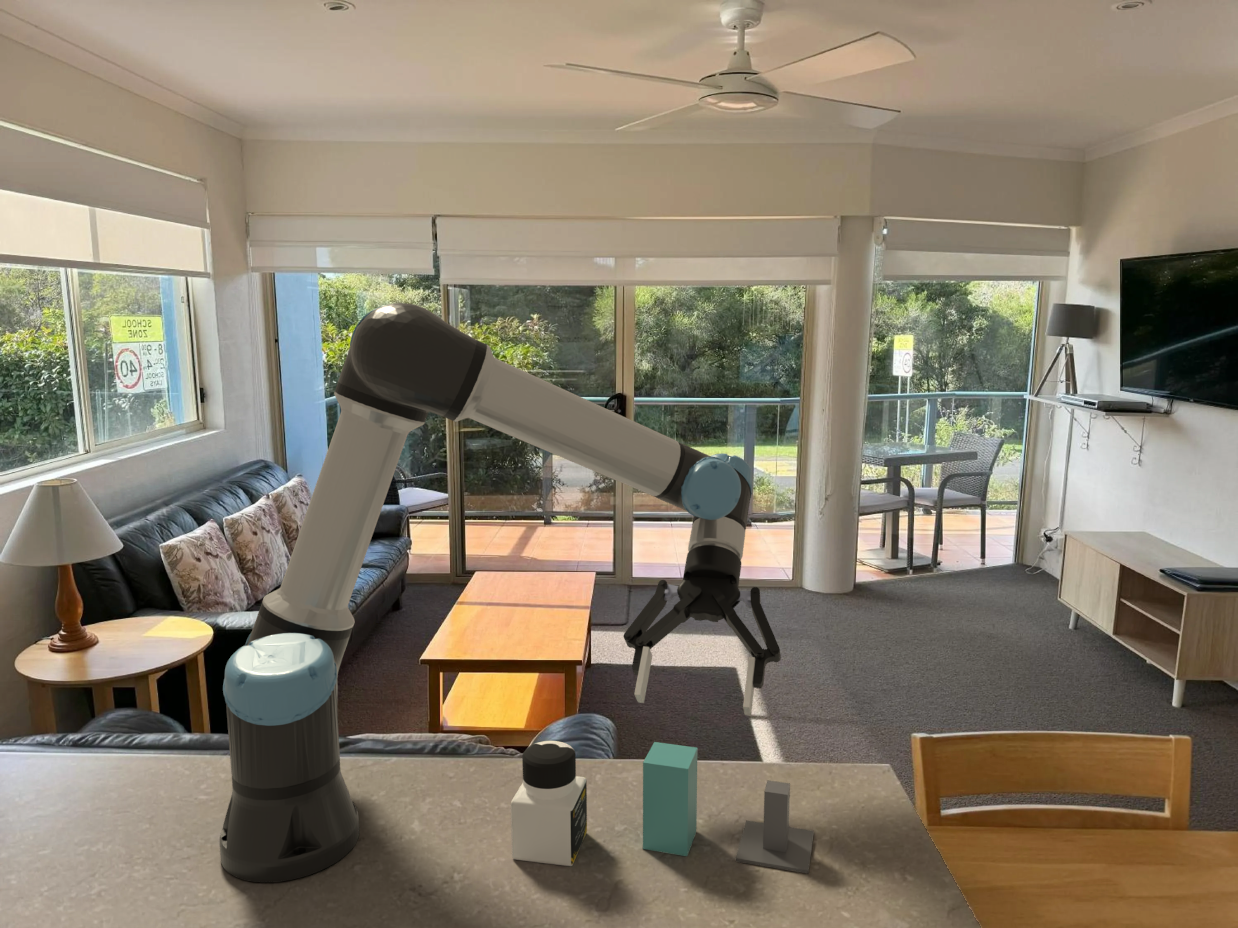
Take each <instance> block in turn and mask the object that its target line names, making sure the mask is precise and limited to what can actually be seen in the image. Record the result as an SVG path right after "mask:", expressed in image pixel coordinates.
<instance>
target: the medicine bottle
mask: <svg viewBox="0 0 1238 928" xmlns="http://www.w3.org/2000/svg"><path fill="white" fill-rule="evenodd" d="M576 764H577V763H576V751H575V749H574V748H573V747H572V746H571V745H570V744H567V743H566V742H562V741H558V740H557V741H556V740H543V741H540V742H535V743H533V744H531V745H530V746H528V747H526V749H525V750H524V751H523V753H522V783H521V785H520V786H519V787H518V789H517V791H516V793H515V794H514V796H513V798H512V799H511V802H510V822H511V823H510V828H511V829H510V831H511V833H510V834H511V858H512V859H513V860H515V861H516V860H517V861H524V862H530V863H538V864H539V863H540V864H549V865H555V866H556V865H557V866H563V867H564V866H565V867H572V866H573V865H574V864H575V860H576V858H577V855H578V854H579V851H580V849H581V846H582V844H583V842H584V840H585V838H586V835H587V833H588V815H587V814H588V812H587V810H588V807H587V805H588V800H587V796H588V795H587V794H588V793H587V792H588V791H587V789H588V788H587V786H588V785H587V778H586V777H584V776H577V767H576V766H577V765H576Z"/></svg>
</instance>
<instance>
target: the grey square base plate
mask: <svg viewBox="0 0 1238 928" xmlns="http://www.w3.org/2000/svg"><path fill="white" fill-rule="evenodd" d="M790 793H791V783H789V782H784V781H783V782H782V781H775V780H768V779H767V780H766V784H765V788H764V794H763V795H764V797H763V822H762V821H761V822H760V821H754V820H749V819H748V820H747V819H745V823H744V827H743V831H742V833H741V837H740V841H739V845H738V847H737V852H736V855H735V862H737V863H743V864H748V865H755V866H761V867H766V868H767V867H768V868H771V869H772V868H774V869H779V870H786V871H791V872H797V873H800V874H801V873H802V874H809V871H810V866H811V864H810V863H811V859H812V857H811V856H812V851H813V850H812V849H813V842H814V835H815V834H814V833H815V832H814V830H812V829H807V828H805V829H804V828H800V827H799V828H798V827H793V826H790V798H791V795H790Z"/></svg>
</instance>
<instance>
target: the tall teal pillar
mask: <svg viewBox="0 0 1238 928" xmlns="http://www.w3.org/2000/svg"><path fill="white" fill-rule="evenodd" d="M697 807H698V747H696V746H695V747H694V746H686V745H681V744H679V745H678V744H673V743H664V742H657V741H653V744H652V745H651V747H650V748H649V751H648V752H647V755H646V757H645V758H644V760H643V762H642V849H643V850H647V851H653V852H659V853H660V852H661V853H664V854H672V855H677V856H684V857H688V856H689V853H690V850H691V848H692V844H693V842H694V839H695V837H696V833H697V825H698V823H697V817H698V815H697V813H698V812H697V811H698V810H697V809H698V808H697Z"/></svg>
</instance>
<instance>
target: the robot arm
mask: <svg viewBox="0 0 1238 928" xmlns="http://www.w3.org/2000/svg"><path fill="white" fill-rule="evenodd" d="M333 395H334V396H335V399H336V401H337V403H338V405H339V407H340V413H339V416H338V420H337V423H336V424H335V425H336V426H335V429H334V432H333V434H332V438H331V440H330V443H329V446H328V449H327V452H326V455H325V458H324V460H323V463H322V466H321V469H320V471H319V475H318V477H317V481H316V483H315V487H314V489H313V492H312V495H311V497H310V498H311V499H310V501H309V504H308V506H307V509H306V512H305V515H304V517H303V518H304V519H303V520H302V524H301V526H300V530H299V532H298V535H297V539H296V541H295V544H294V548H293V550H292V553H291V556H290V559H289V562H288V565H287V567H286V571H285V573H284V577H283V578H282V582H281V585H280V587H279V588H277V589H276V590H273V591H272V592H270V593H268V594H265V595H264V597H263V599H262V601H261V604H260V608H259V610H258V613H257V616H256V619H255V621H254V624H253V627H252V629H251V630H252V631H251V632H250V634H249V635H248V637H247V639H246V642H245V644H244V645H243V646H241V647H239V648H238V649H236V651H235V652H233V654H232V655H231V656H230V658H229V659H228V660H227V662H226V665H225V669H224V679H223V685H222V691H223V692H222V693H223V697H224V701H225V704H226V705H225V706H226V718H227V719H226V721H227V730H228V732H227V733H228V745H229V759H230V760H229V761H230V762H229V763H230V774H231V786H232V788H231V789H232V791H231V795H230V800H229V802H228V806H227V809H226V810H227V811H226V813H225V816H224V820H223V821H224V822H223V824H222V828H221V832H220V835H219V841H218V842H219V856H220V857H219V859H220V863H221V865H222V867H223V869H224V870H225V871H226V872H227V873H228V874H230V875H231V876H233V877H235V878H237V879H240V880H244V881H248V882H252V883H253V882H254V883H255V882H256V883H279V882H287V881H292V880H296V879H301V878H303V877H307V876H310V875H312V874H313V875H314V874H315V873H318V872H320V871H323V870H325V869H327V868H329V867H331V866H332V865H334V864H335V863H337V862H339V861H341V860H342V859H343V858H344V857H345V856H347V855H348V854H349V853H350V852H351V851H352V849H353V848H354V847H355V845H356V843H357V842H358V839H359V837H360V819H359V817H360V816H359V812H358V808H357V806H356V805H355V803H354V801H353V800H352V797H351V795H350V792H349V790H348V787H347V784H346V782H345V778H344V777H343V774H342V771H341V770H342V769H341V758H340V757H341V754H340V752H341V751H340V738H339V719H338V684H339V681H338V679H339V678H338V676H339V675H338V674H339V670H340V666H341V664H342V661H343V657H344V654H345V651H346V648H347V646H348V643H349V640H350V637H351V634H352V631H353V628H354V625H355V618H354V616H353V614H352V612H351V610H350V609H349V603H350V601H351V597H352V595H353V593H354V592H353V591H354V588H355V586H356V584H357V581H358V577H359V575H360V572H361V569H362V566H363V564H364V562H365V561H364V560H365V559H366V554H367V552H368V549H369V546H370V544H371V540H372V537H373V535H374V532H375V530H376V529H375V528H376V526H377V523H378V520H379V518H380V515H381V512H382V509H383V506H384V503H385V501H386V498H387V494H388V492H389V489H390V486H391V483H392V480H393V477H394V475H395V472H396V469H397V466H398V464H399V460H400V457H401V454H402V453H403V452H402V451H403V450H404V446H405V444H406V440H407V437H408V434H409V433H411V431H414V430H415V429H417V428H419V427H422V426H423V425H425V424H426V420H427V417H428V414H429V413H432V414H434V415H437V416H441V417H443V418H446V419H448V420H450V421H452V422H459V421H463V420H465V419H470V420H473V421H475V422H478V423H480V424H482V425H484V426H487V427H489V428H492V429H494V430H496V431H498V432H501V433H503V434H506V435H508V436H511V437H513V438H515V439H518V440H520V441H522V442H525V443H528V444H530V445H532V446H535V447H536V448H539V449H541V450H543V451H546V452H548V453H551V454H552V455H554V456H558V457H559V458H562V459H565V460H567V461H569V462H572V463H574V464H577V465H579V466H581V467H584V468H586V469H588V470H591V471H594V472H596V473H597V474H600V475H602V476H605V477H607V478H610V479H612V480H613V481H614V480H615V481H617V482H619V483H622V484H624V485H626V486H628V487H631V488H632V489H636V490H637V491H640V492H642V493H645V494H647V495H650V496H653V497H655V498H656V499H658V500H660V501H663V502H666V503H668V504H670V505H672V506H675V507H677V508H679V509H681V510H683V511H686V512H687V513H688V514H690V515H691V516H692V517H693V518H692V524H691V525H692V526H691V531H690V537H689V541H688V546H687V551H688V552H687V554H686V560H685V565H684V571H683V576H682V580H681V582H680V584H679V585H676V584H670V583H669V584H668V582H667V581H666V580H665V579H660V580H658V583H657V586H656V589H655V592H654V594H653V595H652V596H651V598H650V599H649V601H648V602H647V604H646V605H645V606H644V607H643V609H641V610H640V613H638V615H637V617H635V619H634V620H633V622H632V623H631V625H629V627H628V628H627V629H626V630H625V632H624V634H623V639H624V641H625V644H626V645H627V647H628V648H630V649H631V648H632V649H634V655H633V660H632V665H631V669H632V671H633V674H634V675H636V676H637V677H636V678H637V679H636V682H635V683H636V684H635V689H634V694H633V695H634V696H635V699H636V701H637V703H638V704H640V703H641V704H645V699H646V694H647V687H648V683H649V677H650V671H651V665H652V661H653V654H652V648H654V646H656V645H657V644H659V642H661V641H662V640H663V639H664V638H665V637H667V636H668V635H669V634H670V633H671V632H672V631H674V630H675V629H676V628H677V627H678V626H679V625H681V624H684V623H686V622H687V621H688V620H689V619H690V618H692V619H694V621H709V622H713V623H719V621H721V620H723V621H725V622H726V624H727V625H728V627H729V628H731V630H732V631H733V632H734V634H735V635H736V637H737V638H738V639H739V641H740V642H741V643H742V645H743V647H745V649H746V650H747V652H748V653H749V655H750V656H749V657H748V662H747V670H746V679H745V687H744V697H743V704H742V708H743V713H744V715H745V716H752V709H753V701H754V693H755V689H762V688H763V686H764V681H765V674H766V673H765V672H766V666H767V665H768V664H769V663H772V662H774V663H779V662H781V659H782V656H781V648H780V646H779V644H778V642H777V640H776V637H775V634H774V632H773V630H772V627H771V626H770V622H769V621H768V618H767V615H766V614H765V611H764V608H763V606H762V595H761V591H760V588H759V587H757V586H753V587H751V589H750V590H740V589H739V585H740V579H741V571H742V558H743V556H744V547H745V546H744V545H745V539H746V530H747V524H748V518H749V517H748V515H749V509H750V503H751V498H752V494H753V493H752V491H753V489H752V487H753V473H752V472H753V471H752V468H751V466H750V464H748V463H747V461H746V460H745V459H743V458H741V457H740V456H738V455H729V454H727V453H716V454H712V455H709V454H707V453H704V452H702V451H701V450H697V449H695V448H694V447H691V446H689V445H687V444H684V443H682V442H679V441H678V440H675V439H673V438H671V437H669V436H667V435H665V434H662V433H660V432H658V431H657V430H653V429H652V428H649V427H647V426H645V425H643V424H640V423H638V422H636V421H634V420H632V419H631V418H628V417H625V416H623V415H621V414H619V413H618V412H617V413H616V412H615V411H612V410H610V409H607V408H605V407H603V406H601V405H599V404H597V403H595V402H593V401H590V400H588V399H586V398H583V396H582V397H581V396H580V395H577V394H575V393H572V392H570V391H568V390H566V389H564V388H562V387H560V386H557V385H555V384H553V383H551V382H549V381H546V380H544V379H542V378H540V377H537V376H536V375H534V374H531V373H529V372H526V371H525V370H522V369H520V368H518V367H516V366H513V365H511V364H509V363H507V362H505V361H502V360H500V359H498V358H496V357H495V356H494V355H493V352H492V349H491V347H490V345H488V344H487V343H484V342H482V341H480V340H477V339H476V338H474V337H472V336H470V335H468V334H466V333H465V332H462V331H461V330H459V329H458V328H456V327H454V326H452V325H451V324H450V323H448V322H446V321H445V320H443V319H442V318H440V317H439V316H438V315H436V314H434V313H433V312H432V311H431V310H429V309H427V308H425V307H422V306H420V305H417V304H415V303H414V304H413V303H408V302H396V303H395V302H394V303H389V304H383V305H381V306H378V307H376V308H374V309H372V310H370V311H369V312H367V313H366V314H365V315H364V316H363V317H362V318H361V319H360V320H359V321H358V322H357V324H356V325H355V328H354V329H353V331H352V333H351V337H350V341H349V349H348V351H347V354H346V357H345V360H344V363H343V367H342V369H341V372H340V375H339V377H338V380H337V384H336V387H335V390H334V393H333ZM675 596H678V598H679V600H678V601H677V602H676V603H675V604H674V605H673V607H672V609H671V610H669V611H668V612H667V613H666V614H665V615H664V616H662V617H661V618H660V619H659V620H657V622H655V623H654V621H655V620H656V618H658V616H659V615H660V614H661V612H662V611H663V610H664V608H665V607H666V605H667V602H671V601H672V599H673V598H674V597H675ZM741 602H743V603H744V604H745V606H746V607H747V608H749V609H751V611H752V615H753V617H754V618H753V619H754V621H755V623H756V625H757V627H758V629H759V633H760V634H761V637H762V640H763V642H764V644H765V647H766V648H763V647H762V646H761V645H760V643H759V642H758V640H756V638H755V637H754V636H753V634H752V633H751V631H750V630H749V629H748V627H747V626H746V625H745V623H744V622H743V621H742V619H741V618H740V616H739V615H738V614H737V612H736V610H735V607H738V605H739V604H740V603H741ZM653 623H654V624H653ZM652 624H653V625H652ZM651 625H652V626H651ZM650 626H651V627H650Z"/></svg>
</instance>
